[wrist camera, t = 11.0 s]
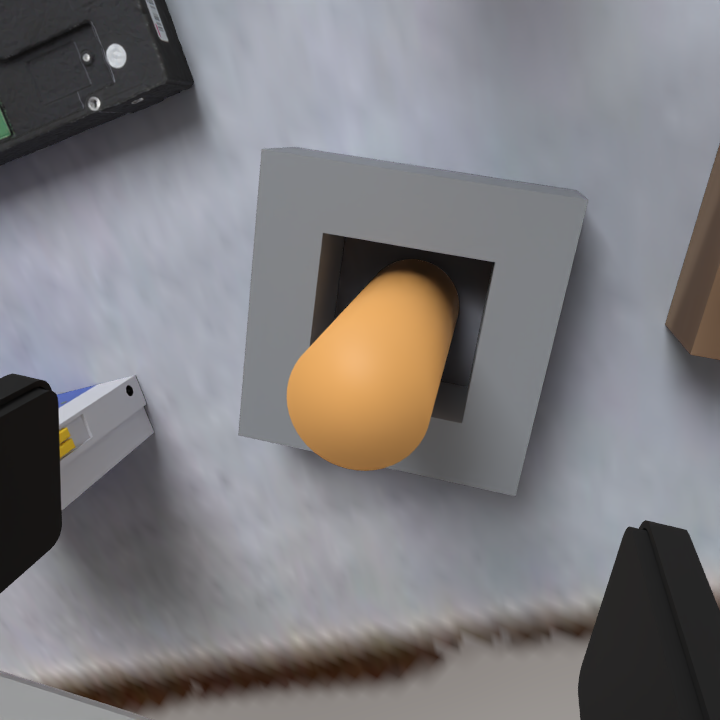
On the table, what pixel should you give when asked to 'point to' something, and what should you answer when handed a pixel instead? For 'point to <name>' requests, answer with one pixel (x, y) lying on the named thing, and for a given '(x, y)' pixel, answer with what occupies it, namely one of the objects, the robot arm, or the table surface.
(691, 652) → the robot arm
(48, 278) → the table surface
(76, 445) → the walkman
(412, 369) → the pin
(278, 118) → the table surface
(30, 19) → the disk drive
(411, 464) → the socket block
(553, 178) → the table surface
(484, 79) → the table surface
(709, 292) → the block
